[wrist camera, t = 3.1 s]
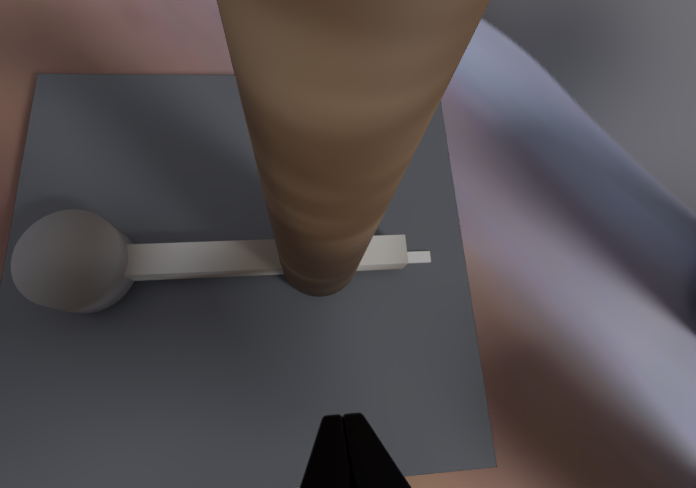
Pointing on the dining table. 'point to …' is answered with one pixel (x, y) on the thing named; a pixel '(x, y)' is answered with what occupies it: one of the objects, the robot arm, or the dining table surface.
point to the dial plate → (223, 311)
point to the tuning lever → (288, 152)
